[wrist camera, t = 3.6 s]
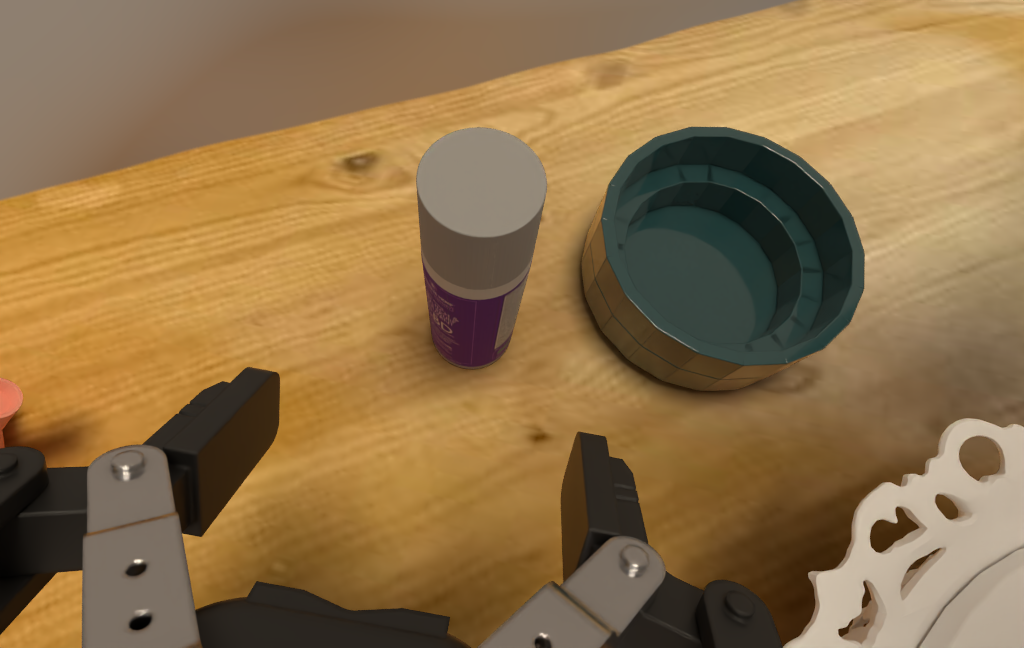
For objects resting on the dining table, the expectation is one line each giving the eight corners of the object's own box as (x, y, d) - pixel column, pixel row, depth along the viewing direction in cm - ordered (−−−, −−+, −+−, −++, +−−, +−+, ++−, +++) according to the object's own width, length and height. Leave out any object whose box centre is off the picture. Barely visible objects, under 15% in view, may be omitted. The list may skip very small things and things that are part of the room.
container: (417, 348, 32) (386, 204, 18) (453, 283, 34) (450, 104, 20) (490, 382, 32) (517, 263, 18) (523, 314, 33) (571, 156, 19)
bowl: (686, 152, 39) (725, 88, 33) (844, 301, 36) (915, 258, 30) (532, 263, 35) (547, 211, 29) (695, 444, 32) (747, 424, 26)
